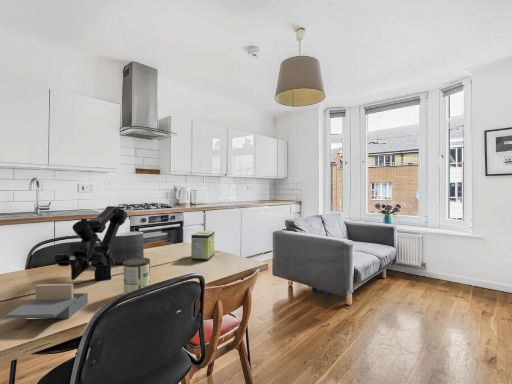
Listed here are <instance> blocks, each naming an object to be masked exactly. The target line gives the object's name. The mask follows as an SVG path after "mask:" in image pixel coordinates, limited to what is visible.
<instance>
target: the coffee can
mask: <svg viewBox="0 0 512 384" xmlns="http://www.w3.org/2000/svg"><path fill="white" fill-rule="evenodd" d="M150 265H151V259H150V258H148V257H144V258H132V259H128V260H126V261H124V262H123V295H124V294H125V293H128V292H131V291H134V290H137V289H140V288H143V287H146V286H149V285H150V286H151V275H150V273H151V266H150Z"/></svg>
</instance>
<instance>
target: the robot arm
mask: <svg viewBox="0 0 512 384" xmlns="http://www.w3.org/2000/svg"><path fill="white" fill-rule="evenodd" d="M127 218H128V213H127V211H125V210H124V209H122V208H119V207H118V206H117V205H116V206H115V205H113V206H112V205H108V206H106V208H105V209H104V210H103V211H102V212H101V213H100V214H99V215H98V216H96V217H94V218H89V219H87V218H81V219H80V220H78V221H76V223H74V224H73V225H72V230H73V231H74V233H75V234H76V236H77V237H78V238H79V239H81V240H80V243H79V242H70V243H69V245H68V248H67V253H68V252H70V253H71V256H69V255H68V254H67V253H57V254H55V255H54V257H53V259H52V260H53V261H54V262H55V264H56V265H57V266H59V267H68V266H70V269H71V270H70V273H71V274H70V280H72V281H75V280H76V279H77V278H79V276H80V275H81V274H82V273H84V272H85V271H86V270H87V269H90V268H95V269H94V279H95V281H96V282H98V281H105V280H106V281H108V280H111V279H112V270H111V269H112V268H111V267H114V266H115V264H116V263H115V259H114V258H113V256H112V252H111V247H112V244H113V242H114V239H115V236H116V234H117V233H118V232H119V228H120V226H122V225H123V224H125V222H126V220H127ZM108 222H109V224H108V226H107V225H106V224H107V223H108ZM106 226H107V227H106ZM105 230H106V231H105ZM104 231H105V234H104V236H103V239H102V240H101V243H100V245H99V246H98V245H97V246H96V244H97V242H99V241H100V238H99V236H98V234H103V232H104Z"/></svg>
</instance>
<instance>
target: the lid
mask: <svg viewBox="0 0 512 384" xmlns="http://www.w3.org/2000/svg"><path fill="white" fill-rule="evenodd" d="M34 289H35V292H34V293H35V296H34V297H35V298H33V299H31V300H30V301H27V302H26V303H24V304H23V305H20V306H19V307H17V308H16V309H14V310H12V311H10V312H8V313H7V314H5V316H4V317H5V318H4V319H26V318H41V317H55V316H57V315H58V314H59V313H61V312H62V311H63V310H65V309H66V308H67V307H69V306H70V305H71V304H73V303H74V302H75V301H77V298H73V293H74V283H53V284H52V283H49V284H45V283H44V284H43V283H42V284H36V285H35V288H34Z"/></svg>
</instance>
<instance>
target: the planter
mask: <svg viewBox="0 0 512 384" xmlns="http://www.w3.org/2000/svg"><path fill="white" fill-rule="evenodd" d="M144 247H145V246H144V232H143V231H124V232H117V234H116V236H115V239H114V242H113V244H112V247H111V252H112V256H113V258H114V259H115V263H114V264H117V265H118V264H123V262H124V261H126V260H128V259H132V258H145V256H144V254H145V253H144Z"/></svg>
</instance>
